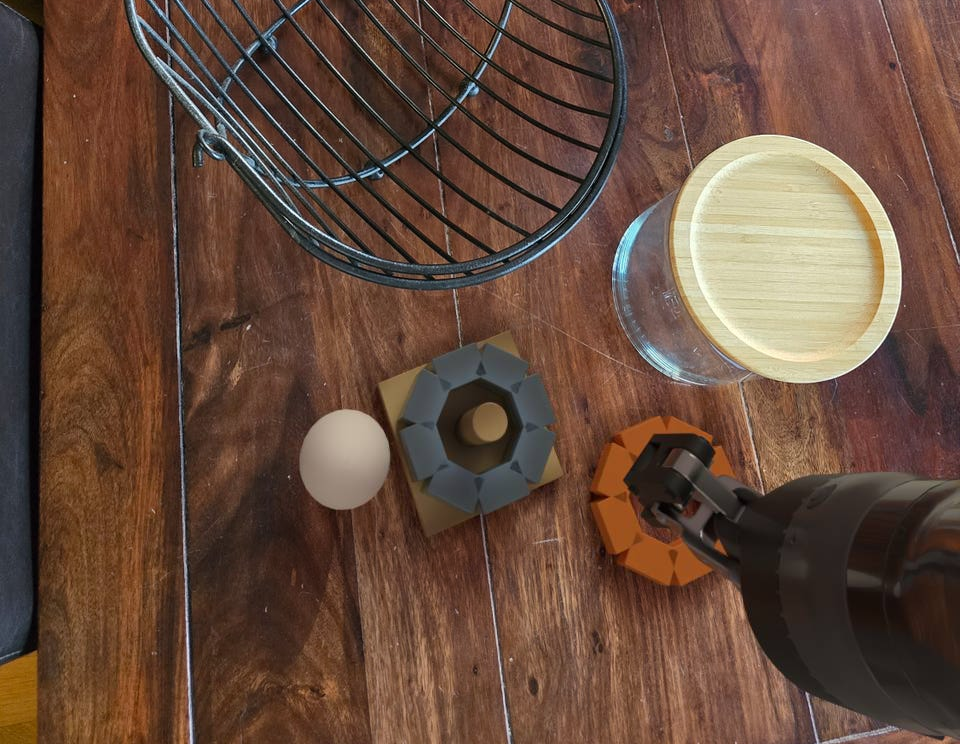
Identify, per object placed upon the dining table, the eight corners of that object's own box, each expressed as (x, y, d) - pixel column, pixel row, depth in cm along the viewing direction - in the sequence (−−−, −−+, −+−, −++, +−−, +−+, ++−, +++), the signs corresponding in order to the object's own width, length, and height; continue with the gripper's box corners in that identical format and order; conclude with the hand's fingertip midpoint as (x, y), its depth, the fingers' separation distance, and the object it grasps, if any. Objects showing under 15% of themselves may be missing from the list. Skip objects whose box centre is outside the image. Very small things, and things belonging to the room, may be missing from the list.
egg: (402, 449, 71) (414, 444, 64) (349, 529, 68) (355, 532, 62) (335, 394, 72) (340, 384, 65) (280, 471, 69) (280, 468, 63)
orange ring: (752, 543, 71) (764, 544, 69) (627, 606, 69) (636, 608, 67) (691, 399, 75) (701, 397, 73) (570, 453, 72) (577, 452, 70)
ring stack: (560, 475, 71) (594, 473, 63) (425, 537, 69) (443, 542, 61) (506, 332, 75) (532, 312, 67) (376, 384, 72) (387, 371, 64)
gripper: (663, 538, 40) (564, 527, 54) (1012, 860, 37) (810, 759, 51) (775, 362, 43) (654, 395, 57) (1103, 645, 40) (890, 606, 54)
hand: (728, 567), depth 54 cm, fingers open, 8 cm apart
